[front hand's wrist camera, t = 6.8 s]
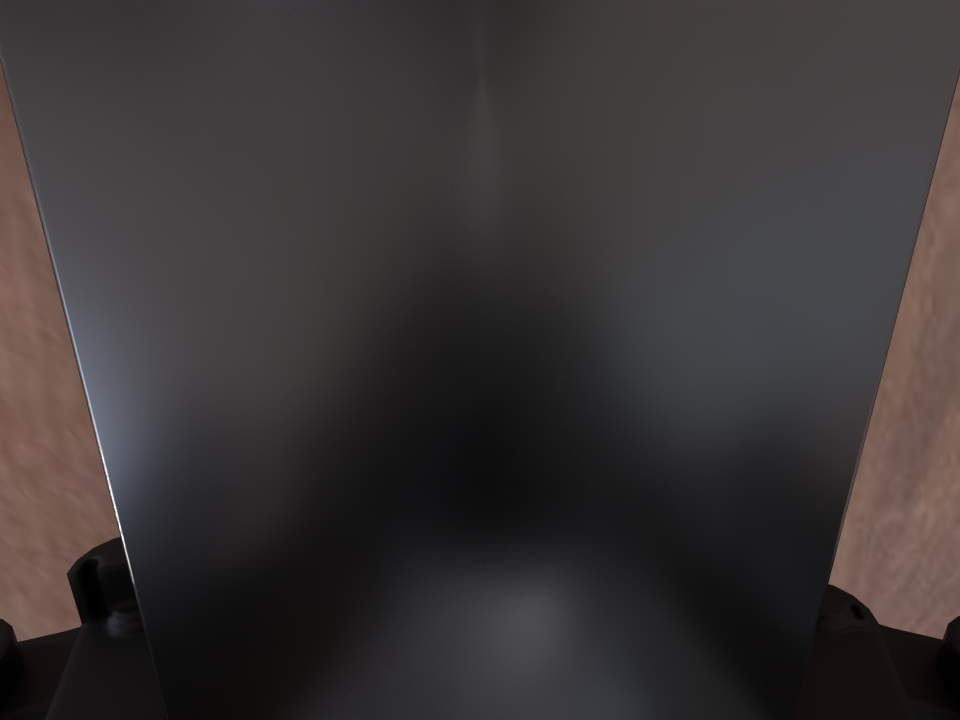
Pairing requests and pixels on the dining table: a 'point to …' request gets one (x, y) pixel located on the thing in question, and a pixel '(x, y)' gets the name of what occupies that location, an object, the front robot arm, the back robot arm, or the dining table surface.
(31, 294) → the dining table surface
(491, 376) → the bar
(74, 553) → the dining table surface
